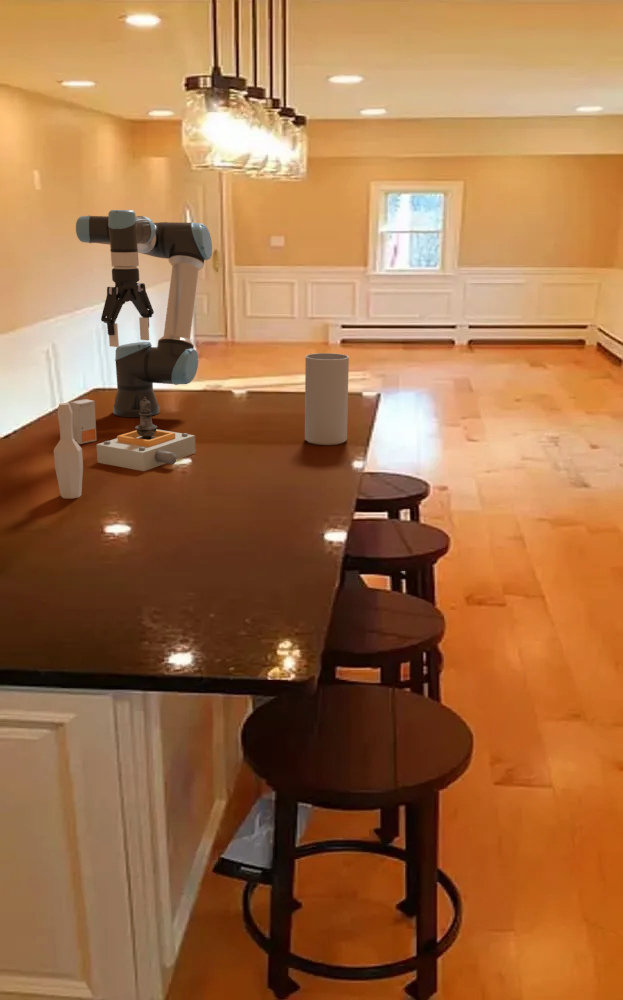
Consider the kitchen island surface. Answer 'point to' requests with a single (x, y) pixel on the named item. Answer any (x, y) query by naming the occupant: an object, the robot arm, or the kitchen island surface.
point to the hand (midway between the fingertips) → (129, 343)
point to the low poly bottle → (68, 456)
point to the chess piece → (146, 421)
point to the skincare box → (83, 421)
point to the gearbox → (145, 450)
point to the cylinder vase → (326, 398)
